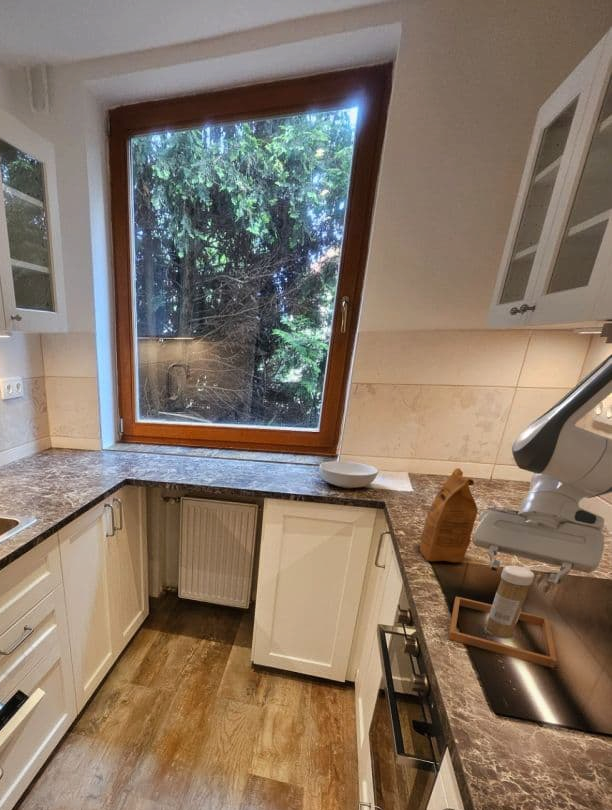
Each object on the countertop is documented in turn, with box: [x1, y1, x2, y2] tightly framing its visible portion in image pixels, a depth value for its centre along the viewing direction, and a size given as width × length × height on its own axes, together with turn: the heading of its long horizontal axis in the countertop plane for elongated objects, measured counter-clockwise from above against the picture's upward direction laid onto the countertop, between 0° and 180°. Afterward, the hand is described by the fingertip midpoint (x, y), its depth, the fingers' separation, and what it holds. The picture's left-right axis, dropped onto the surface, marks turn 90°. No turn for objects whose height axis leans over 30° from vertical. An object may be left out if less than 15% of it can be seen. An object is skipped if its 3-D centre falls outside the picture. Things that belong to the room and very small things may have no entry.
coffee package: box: [419, 467, 479, 563], centre depth 118 cm, size 10×12×22 cm
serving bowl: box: [318, 460, 379, 489], centre depth 179 cm, size 21×21×7 cm
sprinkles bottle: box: [483, 565, 535, 639], centre depth 86 cm, size 5×5×13 cm
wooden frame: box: [447, 596, 558, 669], centre depth 89 cm, size 16×16×3 cm
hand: (521, 576), depth 91 cm, fingers open, 8 cm apart
